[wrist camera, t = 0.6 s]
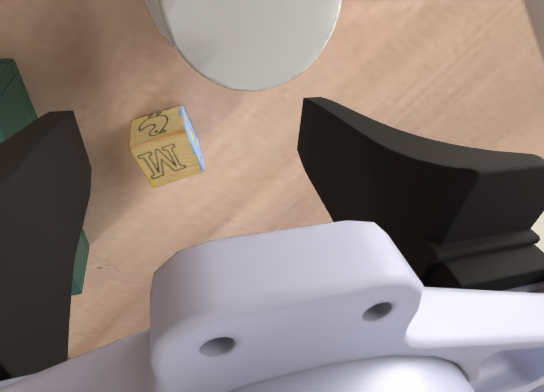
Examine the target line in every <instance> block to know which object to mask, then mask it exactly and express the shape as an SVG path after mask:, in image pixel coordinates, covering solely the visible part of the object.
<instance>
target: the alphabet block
mask: <svg viewBox="0 0 544 392" xmlns="http://www.w3.org/2000/svg"><path fill="white" fill-rule="evenodd" d="M129 150H130V152H131V154H132V155H133V157H134V158H135V160H136V162H137V163H138V165H139V166H140V168H141V170H142V171H143V172H144V174H145V176H146V177H147V179H148V181H149V182H150V184H151V186H152V187H153V188H155V187H159V186H162V185H165V184H168V183H171V182H174V181H177V180H180V179H183V178H186V177H189V176H193V175H195V174H198V173H202V172H204V164H203V158H202V153H201V148H200V144H199V141H198V139H197V137H196V135H195V132H194V130H193V128H192V125H191V123H190V121H189V119H188V116H187V114H186V112H185V110H184V107H183V106H182V105H180V106H177V107H173V108H170V109H167V110H164V111H161V112H157V113H154V114H151V115H148V116H145V117H141V118H138V119H135V120H132V121H131V124H130V138H129Z"/></svg>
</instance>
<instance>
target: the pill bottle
mask: <svg viewBox="0 0 544 392" xmlns="http://www.w3.org/2000/svg"><path fill="white" fill-rule="evenodd" d="M341 1H342V0H144V3H145V5H146V8H147V10H148V12H149V14H150V16H151V18H152V20H153V22H154V24H155V25H156V27H157V28H158V30H159V31H160V32H161V34H162V35H163V36H164V37H165V39H166V40H167V41H168V42H169V43H170V44H171V45H172V46H173V47H174V48H175V49H177V50H178V52H179V53H180V54H181V55H182V57H183V58H184V59H185V61H186V62H187V63H188V64H189V65H190V66H191V67H192V68H193V69H194V70H196V71H197V72H198V73H199V74H200V75H202V76H203V77H205V78H206V79H208V80H210V81H212V82H214V83H216V84H218V85H220V86H223V87H226V88H229V89H233V90H239V91H261V90H266V89H270V88H274V87H277V86H279V85H282V84H284V83H286V82H288V81H290V80H292V79H293V78H295V77H297V76H298V75H299V74H301V73H302V72H303V71H304V70H305V69H307V68H308V67H309V66H310V65H311V64H312V63H313V62H314V61H315V59H316V58H317V57H318V56H319V54H320V53H321V52H322V50H323V49H324V47H325V46H326V44H327V42H328V40H329V38H330V37H331V34H332V32H333V30H334V28H335V25H336V22H337V19H338V16H339V12H340V7H341Z"/></svg>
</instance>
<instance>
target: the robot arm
mask: <svg viewBox="0 0 544 392" xmlns="http://www.w3.org/2000/svg"><path fill="white" fill-rule="evenodd" d="M297 150H298V153H299V156H300V159H301V162H302V164H303V167H304V169H305V172H306V173H307V175H308V177H309V179H310V181H311V182H312V184H313V186H314V188H315V190H316V191H317V193H318V195H319V197H320V198H321V200H322V202H323V204H324V205H325V207H326V209H327V211H328V212H329V214H330V216H331V218H332V220H333V222H332V223H325V224H318V225H311V226H305V227H298V228H291V229H284V230H277V231H271V232H264V233H257V234H250V235H243V236H237V237H230V238H223V239H216V240H210V241H207V242H204V243H201V244H198V245H195V246H192V247H189V248H186V249H183V250H180V251H178V252H176V253H175V254H174V255H173V256H172V257H171V258H170V259H169V260H167V261H166V262H165V263H164V264H163V265H162V266H161V267H160V268H158V269H157V270H156V271H155V272H154V276H153V281H152V287H151V292H150V327H149V328H147V329H144V330H142V331H139V332H137V333H134V334H132V335H130V336H127V337H125V338H122V339H120V340H117V341H115V342H112V343H110V344H107V345H105V346H102V347H100V348H97V349H95V350H92V351H90V352H87V353H85V354H82V355H80V356H78V357H75V358H73V359H70V360H68V361H67V355H68V335H69V317H70V304H71V291H72V281H73V271H74V262H75V257H76V251H77V247H78V243H79V239H80V235H81V230H82V226H83V222H84V218H85V214H86V209H87V205H88V201H89V196H90V187H91V165H90V162H89V159H88V156H87V152H86V149H85V146H84V143H83V140H82V137H81V134H80V131H79V128H78V125H77V122H76V118H75V115H74V112H73V111H58V112H49V113H47V114H45V115H43V116H41V117H39V118H38V119H36V120H35V121H33V122H32V123H30V124H29V125H27V126H26V127H24V128H23V129H21V130H20V131H18V132H17V133H15V134H14V135H12V136H11V137H9V138H8V139H6V140H5V141H3V142H2V143H0V392H544V253H543V252H542V251H541V250H540V249H539V248H538V247H537V246H536V245H535V243H538V241H539V240H540V238H539V236H538V235H537V234H536V233H535V232H534V231H532V230H531V229H530V228H531V227H532V226H533V224H534V223H535V222H536V220H537V219H538V218H539V216H540V215H541V214H542V212H543V211H544V159H542V158H541V157H539V156H537V155H533V154H524V153H512V152H501V151H491V150H483V149H477V148H470V147H464V146H458V145H453V144H448V143H444V142H440V141H435V140H431V139H427V138H423V137H420V136H416V135H413V134H410V133H407V132H404V131H401V130H398V129H395V128H392V127H390V126H387V125H385V124H382V123H380V122H377V121H375V120H373V119H370V118H368V117H366V116H364V115H362V114H359V113H357V112H355V111H353V110H351V109H349V108H347V107H344V106H342V105H340V104H338V103H336V102H333V101H331V100H328V99H325V98H322V97H313V98H304V100H303V107H302V115H301V123H300V131H299V139H298V146H297Z"/></svg>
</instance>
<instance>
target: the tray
mask: <svg viewBox="0 0 544 392" xmlns="http://www.w3.org/2000/svg"><path fill="white" fill-rule="evenodd" d="M36 119H38V118H37V116H36V113H35V111H34V108H33V106H32V103H31V101H30V98H29V96H28V94H27V91H26V89H25V86H24V84H23V81H22V79H21V76H20V74H19V71H18V69H17V66H16V64H15V62H14V60H13V59H0V143H2V142H3V141H5V140H6V139H8V138H9V137H11V136H12V135H14V134H15V133H17V132H18V131H20V130H21V129H23V128H24V127H26V126H27V125H29V124H30V123H32V122H33V121H35V120H36ZM88 251H89V244H88V241H87V239H86V236H85V234H84V231H83V229H82V230H81V235H80V239H79V243H78V247H77V251H76V257H75V262H74V271H73V281H72V291H71V295H77V294H82V289H83V283H84V277H85V270H86V264H87V258H88Z"/></svg>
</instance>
